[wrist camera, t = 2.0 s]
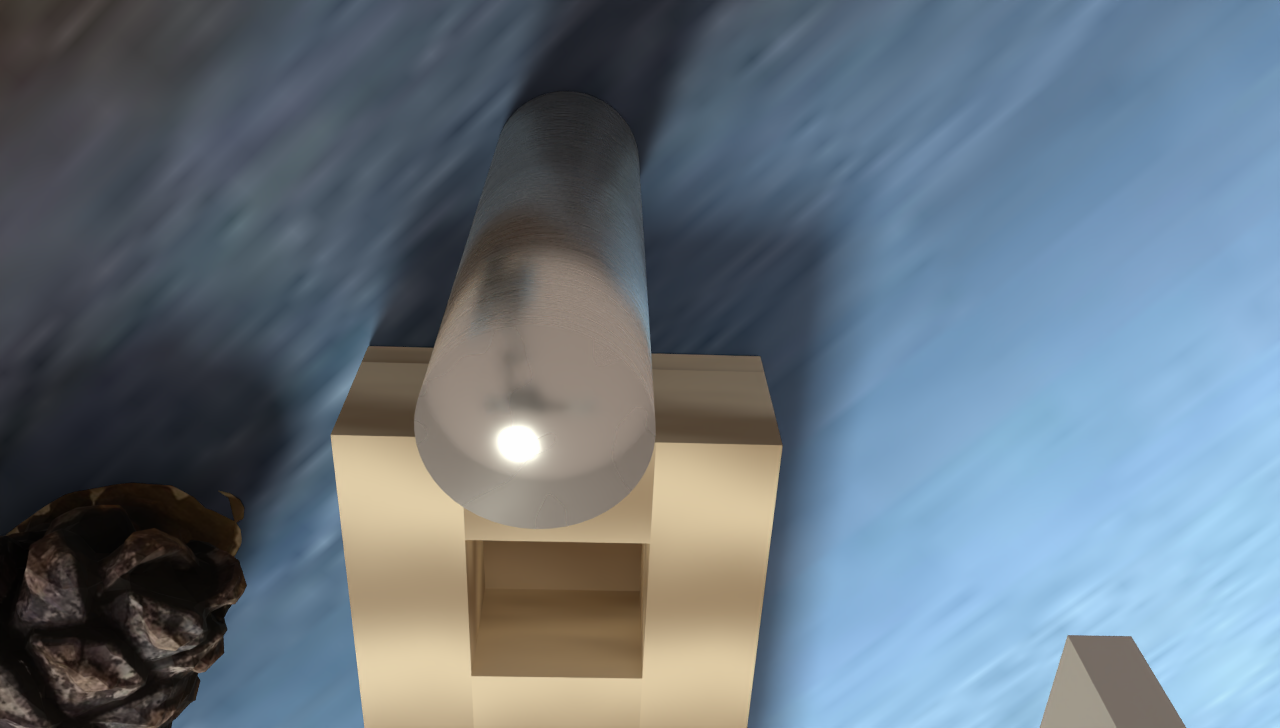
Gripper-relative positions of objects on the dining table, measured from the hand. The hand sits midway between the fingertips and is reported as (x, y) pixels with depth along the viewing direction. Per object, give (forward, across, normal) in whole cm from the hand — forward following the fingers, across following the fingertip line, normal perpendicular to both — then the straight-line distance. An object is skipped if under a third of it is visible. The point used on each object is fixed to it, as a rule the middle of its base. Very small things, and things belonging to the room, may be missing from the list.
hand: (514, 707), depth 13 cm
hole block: (+20, 0, -18) cm, 27 cm away
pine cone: (+20, -18, -16) cm, 31 cm away
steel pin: (+20, 0, 0) cm, 20 cm away
